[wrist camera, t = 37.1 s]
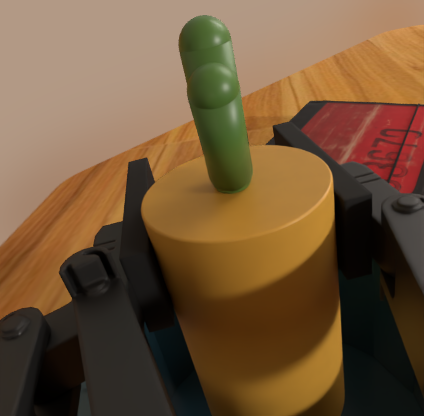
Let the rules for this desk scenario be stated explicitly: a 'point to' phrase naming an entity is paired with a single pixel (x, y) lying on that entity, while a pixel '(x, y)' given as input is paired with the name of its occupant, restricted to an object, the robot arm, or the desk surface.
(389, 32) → the desk surface
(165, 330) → the pot
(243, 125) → the yellow cylinder green stem
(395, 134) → the binder
